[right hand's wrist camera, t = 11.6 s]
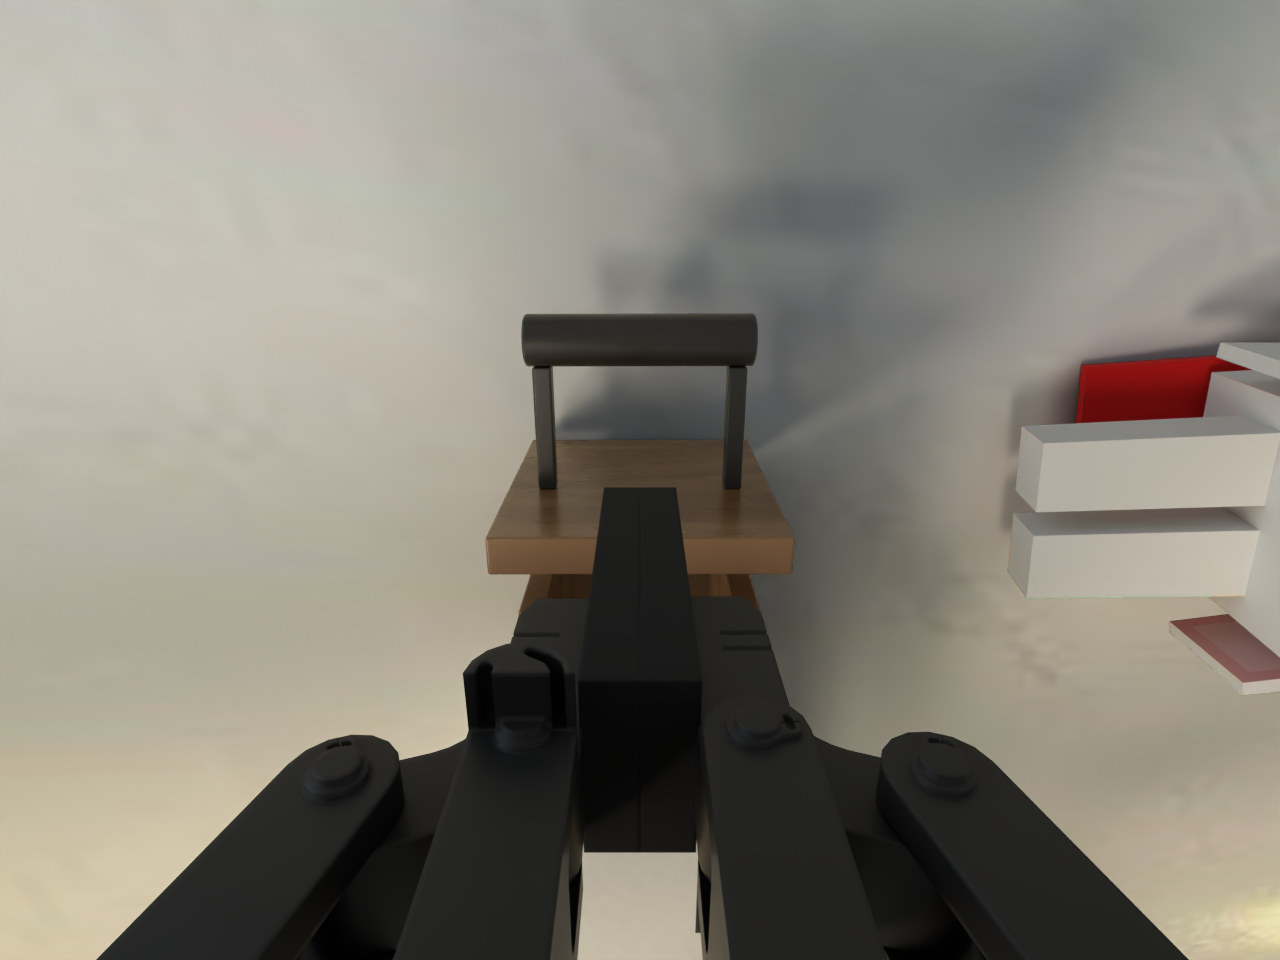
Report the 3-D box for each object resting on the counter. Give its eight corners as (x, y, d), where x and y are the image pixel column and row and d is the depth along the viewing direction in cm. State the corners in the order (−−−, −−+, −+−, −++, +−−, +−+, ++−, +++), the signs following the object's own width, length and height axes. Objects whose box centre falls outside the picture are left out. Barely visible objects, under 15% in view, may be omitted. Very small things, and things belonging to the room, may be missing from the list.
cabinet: (534, 642, 34) (484, 842, 23) (745, 642, 34) (795, 842, 23) (552, 936, 41) (520, 1198, 30) (728, 936, 41) (761, 1198, 30)
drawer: (524, 296, 28) (467, 334, 18) (754, 296, 28) (811, 333, 18) (552, 789, 36) (522, 985, 27) (728, 789, 36) (759, 984, 27)
